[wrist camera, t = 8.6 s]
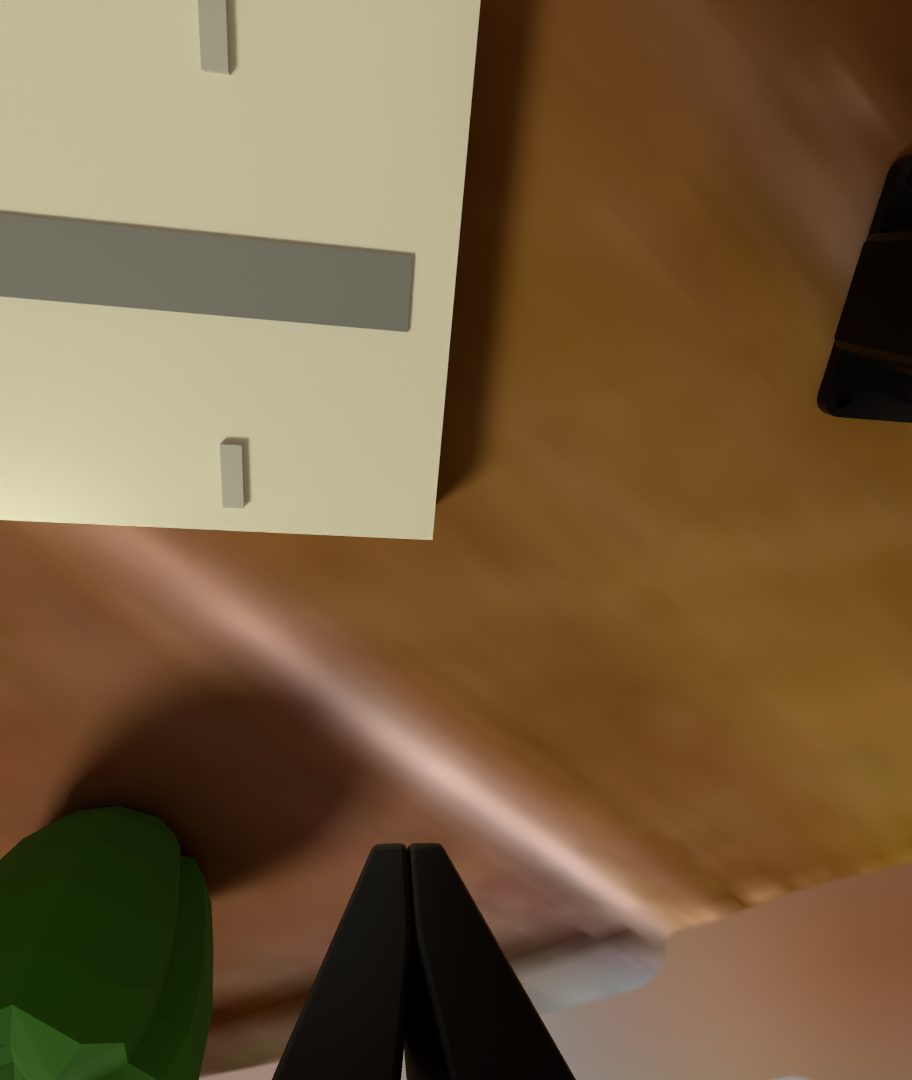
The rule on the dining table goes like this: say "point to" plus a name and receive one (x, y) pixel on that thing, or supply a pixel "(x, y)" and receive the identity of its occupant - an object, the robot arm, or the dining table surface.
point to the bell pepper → (104, 952)
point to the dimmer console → (229, 260)
